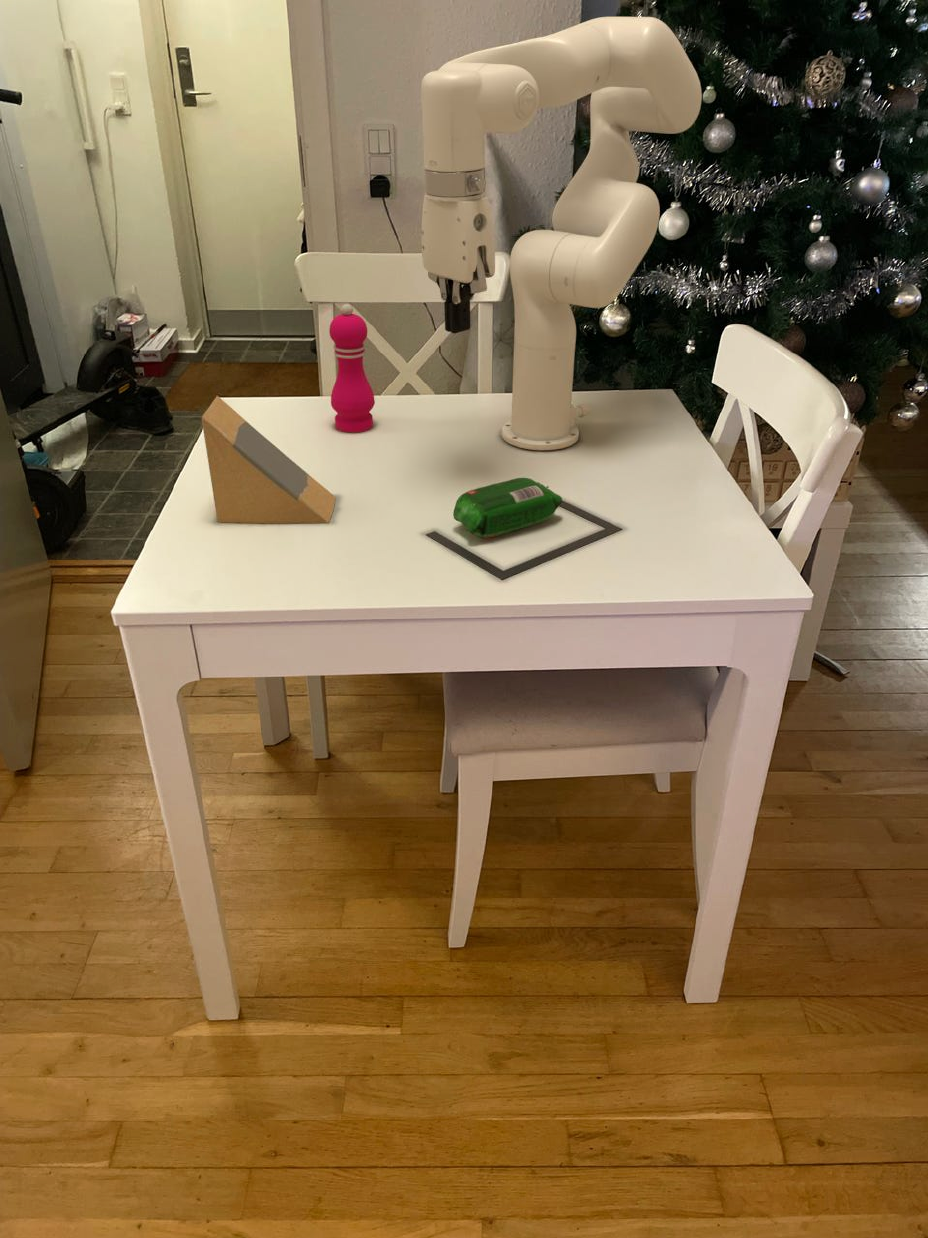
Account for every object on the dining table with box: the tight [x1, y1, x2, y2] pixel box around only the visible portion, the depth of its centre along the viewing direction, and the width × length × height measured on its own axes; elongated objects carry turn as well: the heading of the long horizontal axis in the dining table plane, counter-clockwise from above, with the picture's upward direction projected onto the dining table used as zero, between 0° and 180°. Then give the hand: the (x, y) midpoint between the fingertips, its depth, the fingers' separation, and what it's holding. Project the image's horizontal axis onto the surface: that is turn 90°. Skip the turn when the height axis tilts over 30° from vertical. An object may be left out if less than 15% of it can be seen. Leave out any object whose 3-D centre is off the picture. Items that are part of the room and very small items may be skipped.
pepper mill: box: [328, 303, 376, 434], centre depth 153 cm, size 7×7×20 cm
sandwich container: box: [201, 395, 337, 524], centre depth 127 cm, size 9×15×15 cm, turn 90°
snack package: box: [452, 477, 563, 539], centre depth 126 cm, size 7×16×5 cm, turn 121°
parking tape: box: [425, 499, 623, 581], centre depth 126 cm, size 22×15×1 cm
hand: (457, 329), depth 128 cm, fingers closed
